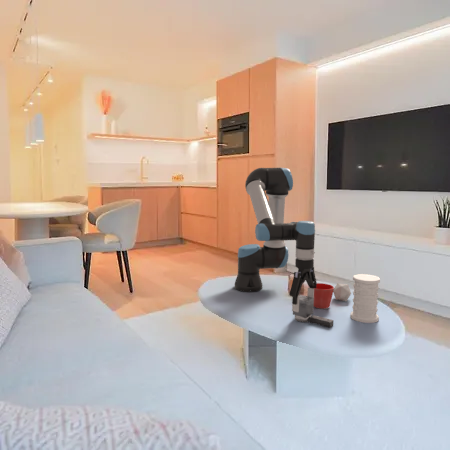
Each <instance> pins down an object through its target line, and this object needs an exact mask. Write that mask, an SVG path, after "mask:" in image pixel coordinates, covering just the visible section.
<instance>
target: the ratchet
mask: <svg viewBox="0 0 450 450" xmlns="http://www.w3.org/2000/svg"><path fill="white" fill-rule="evenodd" d="M294 321H296V322H299V323H310V324H314V325H317V326H322V327H324V328H328V329H331V328H332V327H334V320H333V319H331V318H328V317H323V316H319V315H314V314H312V315H310V316H309V317H307V318H305V317H301V316H297V315H294Z"/></svg>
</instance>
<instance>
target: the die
mask: <svg viewBox="0 0 450 450" xmlns="http://www.w3.org/2000/svg"><path fill="white" fill-rule="evenodd" d="M333 295H334V298H335V301H341V302H348V300H349V298H350V296H351V295H352V292H351V288H350V286H349V284H347V283H340V282H338V283H336V284H335V286H334V290H333Z"/></svg>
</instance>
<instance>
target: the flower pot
mask: <svg viewBox="0 0 450 450" xmlns="http://www.w3.org/2000/svg"><path fill="white" fill-rule="evenodd" d="M316 286H317V288H314V308H316V309H320V310H327V309H329V308H330V306H331V303H332V300H333V299H332V297H333V295H334V293H333V290H334V288H335V286H334V285H331V284H328V283H322V282H320V283H319V282H317V285H316Z"/></svg>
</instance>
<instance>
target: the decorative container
mask: <svg viewBox="0 0 450 450" xmlns="http://www.w3.org/2000/svg"><path fill="white" fill-rule="evenodd" d="M352 281H354V283H353V291H352V293H353V298H352V311H351V312H350V313H349V314H350V315H349V316H350V319H352V320H353V321H356V322H358V323H363V324H374V323H377V322H379V320H380V316H379V315H378V314H377V313H378V303H379V301H378V298H379V292H378V291H379V283H381V278H380V277H379V276H378V275H373V274H367V273H359V274H354V275H353V276H352Z"/></svg>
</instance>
